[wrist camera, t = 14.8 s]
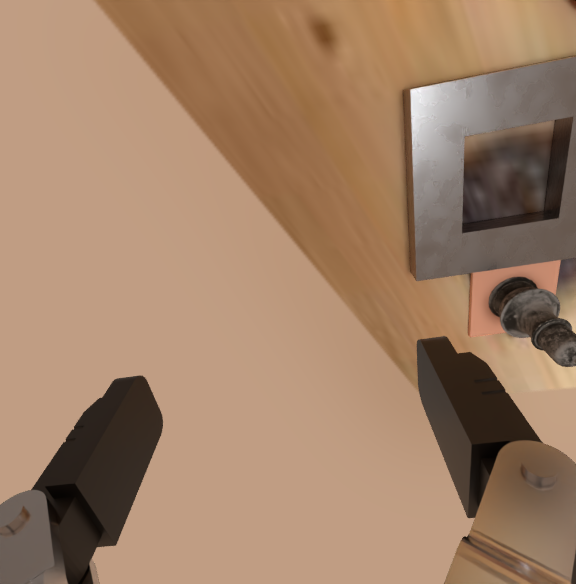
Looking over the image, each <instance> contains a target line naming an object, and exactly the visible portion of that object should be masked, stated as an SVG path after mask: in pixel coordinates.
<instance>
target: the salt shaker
mask: <svg viewBox="0 0 576 584" xmlns="http://www.w3.org/2000/svg"><path fill="white" fill-rule="evenodd" d="M488 304H489V308H490V310H491V312H492V313H493V314H494V315H496V316H498V317H500V323H501V326H502V328H503V330H504V331H505V332H506V333H508V334H509V335H511V336H514V337H519V338H526V337H531V341H532V344H533V345H534V346H535V347H536V348H537V349H540V350H544V351H545V352H546V353H547V354H548V355H549V356H550V357H551V358H552V359H553V360H554V361H555V362H556V363H557V364H559V365H561V366H565V367H573V366H576V334H575V333H574V332H573V331H572V326H571V324H570V323H569V322H568V321H567V320H564V319H560V318H558V315H559V311H560V302H559V300H558V298H557V297H556V296H555V295H554V294H553V293H552V292H550V291H548V290H545V289H539V288H537V286H536V284H535V283H534V282H533V281H532V280H530V279H528V278H526V277H512V278H509V279H506V280H504V281H503V282H501V283H500V284H498V285H497V286H496V287H495V288H494V289H493V291H492V292H491V294H490V296H489V301H488Z"/></svg>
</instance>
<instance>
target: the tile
mask: <svg viewBox="0 0 576 584" xmlns="http://www.w3.org/2000/svg"><path fill="white" fill-rule="evenodd" d="M560 262H561V260H557V261H550V262H543V263H536V264H530V265H523V266H516V267H509V268H502V269H496V270H489V271H482V272H475V273H471V277H470V302H469V327H468V335H469V336H470V337H476V336H484V335H491V334H499V333H506V332H505V331H504V330H503V328H502V326H501V323H500V317H498V316H496V315H494V314H493V313H492V312H491V310H490V308H489V304H488V301H489V296H490V294H491V292H492V291H493V289H494V288H495V287H496V286H497V285H498V284H500V283H501V282H503V281H504V280H506V279H509V278H512V277H526V278H528V279H530V280H532V281H533V282H534V283H535V284H536V286H537V288H539V289H545V290H548V291H550V292H552V293H553V294H554V295H555V294H556V287H557V281H558V274H559V268H560Z"/></svg>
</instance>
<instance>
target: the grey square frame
mask: <svg viewBox="0 0 576 584" xmlns="http://www.w3.org/2000/svg"><path fill="white" fill-rule="evenodd" d="M403 99H404V124H405V150H406V175H407V201H408V226H409V252H410V272H411V273H412V275H413V276H414V278H415V280H416V281H421V280H428V279H434V278H441V277H448V276H455V275H462V274H468V273H475V272H482V271H489V270H496V269H502V268H509V267H516V266H523V265H530V264H536V263H543V262H550V261H557V260H563V259H570V258H576V56H571V57H566V58H561V59H556V60H551V61H546V62H541V63H536V64H531V65H526V66H521V67H516V68H511V69H506V70H501V71H496V72H491V73H486V74H481V75H476V76H471V77H466V78H461V79H456V80H451V81H446V82H441V83H436V84H431V85H426V86H421V87H416V88H411V89H406V90H403ZM551 120H555V127H554V135H553V143H552V151H551V159H550V167H549V175H548V183H547V191H546V199H545V207H544V211H542V212H535V213H529V214H523V215H517V216H510V217H504V218H498V219H492V220H486V221H479V222H473V223H467V224H462V210H463V172H464V136H470V135H475V134H480V133H486V132H491V131H497V130H502V129H508V128H513V127H519V126H524V125H529V124H535V123H540V122H546V121H551Z"/></svg>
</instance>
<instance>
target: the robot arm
mask: <svg viewBox="0 0 576 584" xmlns="http://www.w3.org/2000/svg"><path fill="white" fill-rule="evenodd" d="M417 367H418V387H419V393H420V397H421V401H422V404H423V407H424V410H425V412H426V415H427V417H428V420H429V422H430V425H431V427H432V430H433V432H434V434H435V437H436V440H437V442H438V445H439V447H440V450H441V452H442V455H443V457H444V460H445V462H446V465H447V467H448V470H449V472H450V475H451V477H452V480H453V482H454V485H455V487H456V490H457V492H458V495H459V497H460V500H461V502H462V505H463V507H464V510H465V512H466V515H467V517H468V518H475V520H474V522H473V525H472V528H471V531H470V533H469V535H468V536H467V537H463V538H462V540H461V542H460V544H459V546H458V548H457V551H456V553H455V556H454V558H453V561H452V564H451V567H450V569H449V572H448V575H447V577H446V580H445V583H444V584H576V464H575V463H574V462H573V461H572V459H570V458H569V457H568V456H567V455H565V454H564V453H562V452H561V451H559V450H558V449H556V448H554V447H552V446H549V445H546V444H544V443H542V441H541V440H540V439H539V437H538V436H537V434H536V433H535V432H534V430H533V429H532V427H531V426H530V425H529V423H528V422H527V420H526V419H525V417H524V416H523V414H522V413H521V412H520V410H519V409H518V407H517V406H516V405H515V403H514V402H513V400H512V399H511V397H510V396H509V394H508V393H506V392H505V389H504V387H503V386H502V384H501V383H500V382H499V380H498V381H497V377H496V376H495V374H494V373H493V372H492V370H491V369H490V367H489V366H488V364H487V363H486V362H484V361H483V360H481V359H480V358H478V357H477V356H475V355H474V354H472V353H471V352H466V353H459V354H457V352H456V351H455V349H454V347H453V346H452V344H451V342H450V341H449V339H448V338H447V337H446V336H443V337H436V338H428V339H420V340H418V341H417ZM162 428H163V419H162V414H161V411H160V409H159V407H158V405H157V402H156V400H155V398H154V396H153V393H152V391H151V389H150V387H149V384H148V382H147V380H146V379H145V377H143V376H133V377H126V378H119V379H115V380H114V381H113V382H112V384H111V385H110V387H109V388H108V390H107V391H106V393H105V394H104V396H103V397H102V398H99V399H98V400H97V401H96V402H95V403H94V404H92V405H91V406H90V407H89V408H88V409H87V410H86V411H85V412H84V413H83V415H82V416H81V417H80V419H79V420H78V422H77V423H76V425H75V426H74V430H72V431H71V432H70V434H69V435H68V437H67V438H66V442H64V443H63V444H62V445H61V447H60V448H59V450H58V451H57V453H56V454H55V456H54V457H53V459H52V460H51V462H50V463H49V465H48V466H47V467H46V469H45V470H44V472H43V473H42V475H41V476H40V478H39V479H38V481H37V482H36V484H35V485H34V487H33V488H32V489H31V490H29V491H25V492H22V493H19V494H17V495H15V496H13V497H11V498H10V499H8V500H6V501H5V502H3V503H2V504H1V505H0V584H100V583H99V579H98V574H97V570H96V566H95V563H94V562H93V560H92V556H93V554H94V552H95V550H96V547H102V546H115V545H116V544H117V541H118V539H119V536H120V534H121V531H122V529H123V527H124V524H125V522H126V519H127V517H128V514H129V512H130V510H131V507H132V505H133V502H134V500H135V497H136V495H137V492H138V490H139V487H140V485H141V482H142V480H143V477H144V475H145V472H146V470H147V468H148V465H149V463H150V460H151V458H152V455H153V453H154V450H155V448H156V445H157V443H158V441H159V438H160V436H161V433H162Z"/></svg>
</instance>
